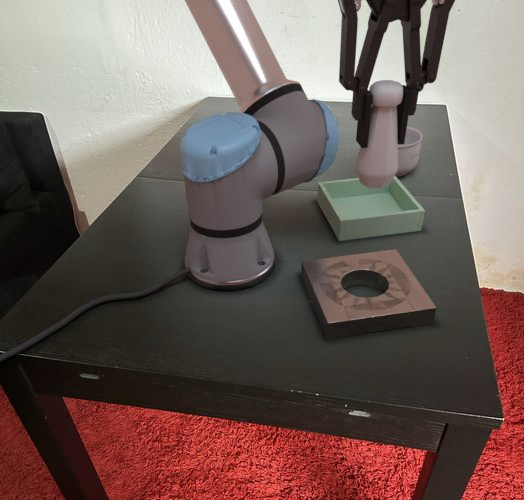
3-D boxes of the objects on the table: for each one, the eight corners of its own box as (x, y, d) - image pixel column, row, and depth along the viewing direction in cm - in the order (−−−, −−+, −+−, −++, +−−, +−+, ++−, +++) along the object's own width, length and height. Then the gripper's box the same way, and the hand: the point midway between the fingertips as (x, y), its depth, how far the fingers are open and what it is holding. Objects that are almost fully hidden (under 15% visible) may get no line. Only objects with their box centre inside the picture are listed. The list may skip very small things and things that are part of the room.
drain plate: (326, 339, 75) (328, 323, 73) (301, 276, 87) (301, 261, 85) (432, 323, 77) (436, 307, 75) (393, 264, 89) (395, 248, 86)
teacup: (416, 183, 110) (423, 145, 105) (364, 180, 112) (368, 143, 107) (416, 156, 120) (422, 120, 115) (368, 154, 122) (371, 118, 117)
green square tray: (339, 241, 94) (340, 220, 92) (317, 201, 106) (317, 182, 103) (421, 230, 96) (425, 210, 93) (391, 193, 107) (393, 173, 105)
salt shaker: (349, 188, 73) (357, 87, 64) (359, 171, 77) (369, 74, 68) (391, 194, 71) (406, 91, 62) (399, 176, 75) (414, 77, 66)
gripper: (334, -78, 51) (322, 159, 67) (504, -87, 52) (453, 147, 68) (316, -83, 56) (309, 137, 72) (471, -91, 58) (431, 126, 74)
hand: (379, 141), depth 70 cm, fingers closed on salt shaker, 4 cm apart
